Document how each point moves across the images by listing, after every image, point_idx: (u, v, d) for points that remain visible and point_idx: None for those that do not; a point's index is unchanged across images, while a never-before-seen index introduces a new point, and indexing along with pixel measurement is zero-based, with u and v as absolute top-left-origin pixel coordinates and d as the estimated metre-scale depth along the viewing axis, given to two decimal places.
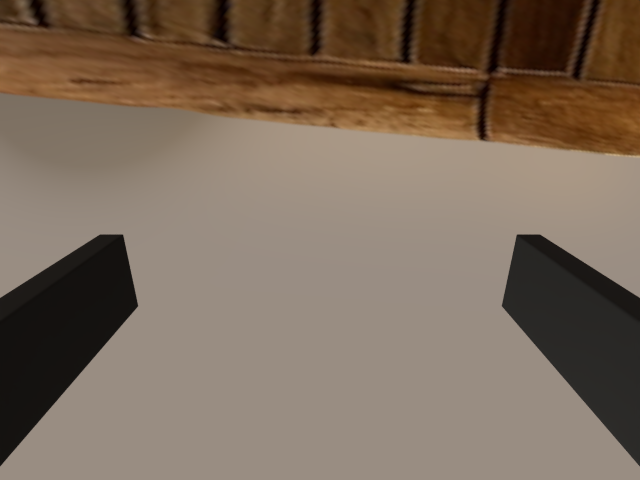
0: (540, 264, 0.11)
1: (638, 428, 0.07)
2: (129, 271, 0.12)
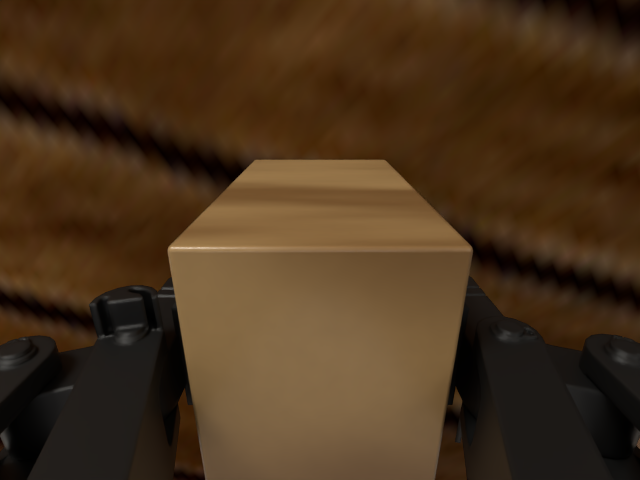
0: None
1: None
2: None
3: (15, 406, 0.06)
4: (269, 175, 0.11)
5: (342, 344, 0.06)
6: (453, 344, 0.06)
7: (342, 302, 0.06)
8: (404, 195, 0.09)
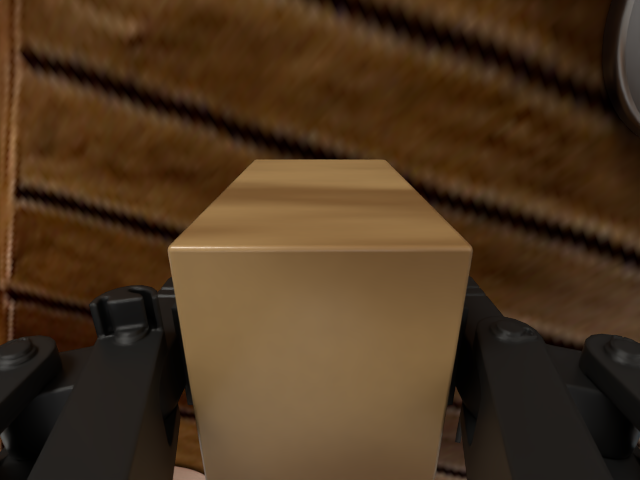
0: None
1: None
2: None
3: (15, 406, 0.06)
4: (269, 175, 0.11)
5: (342, 344, 0.06)
6: (453, 344, 0.06)
7: (342, 302, 0.06)
8: (404, 195, 0.09)
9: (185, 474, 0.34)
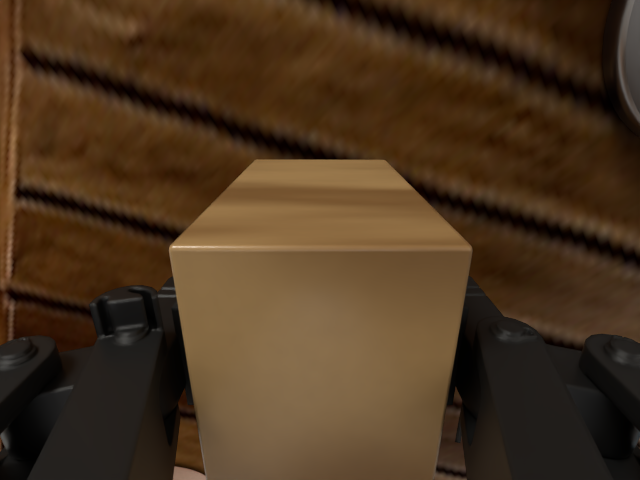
0: None
1: None
2: None
3: (15, 406, 0.06)
4: (269, 175, 0.11)
5: (342, 344, 0.06)
6: (453, 343, 0.06)
7: (342, 301, 0.06)
8: (404, 195, 0.09)
9: (185, 474, 0.34)
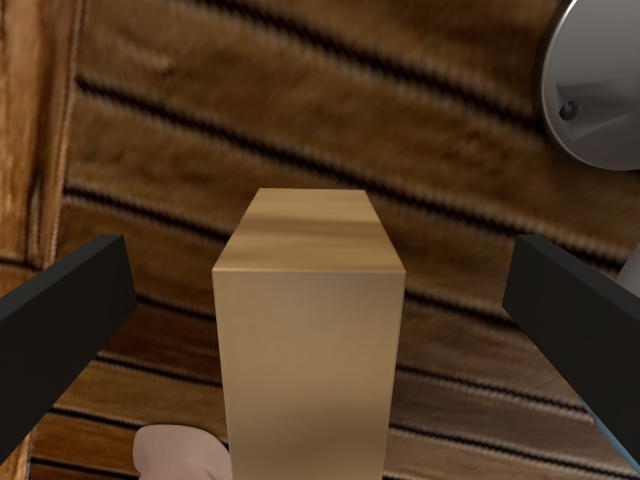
0: (540, 264, 0.11)
1: (638, 428, 0.07)
2: (129, 270, 0.12)
3: None
4: (272, 206, 0.14)
5: (323, 332, 0.10)
6: (396, 333, 0.10)
7: (323, 305, 0.09)
8: (371, 227, 0.12)
9: (194, 432, 0.40)
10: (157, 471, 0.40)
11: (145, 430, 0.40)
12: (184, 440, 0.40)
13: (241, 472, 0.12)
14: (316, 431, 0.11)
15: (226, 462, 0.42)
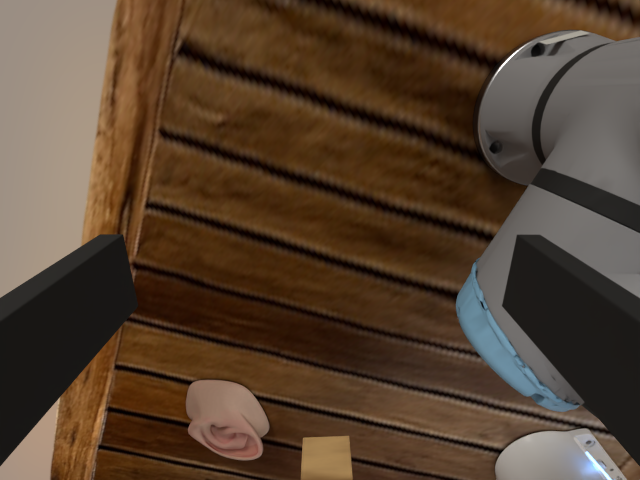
0: (540, 264, 0.11)
1: (638, 428, 0.07)
2: (129, 271, 0.12)
3: None
4: (311, 462, 0.36)
5: None
6: None
7: None
8: None
9: (233, 386, 0.53)
10: (205, 415, 0.52)
11: (196, 384, 0.53)
12: (226, 391, 0.53)
13: None
14: None
15: (257, 410, 0.54)
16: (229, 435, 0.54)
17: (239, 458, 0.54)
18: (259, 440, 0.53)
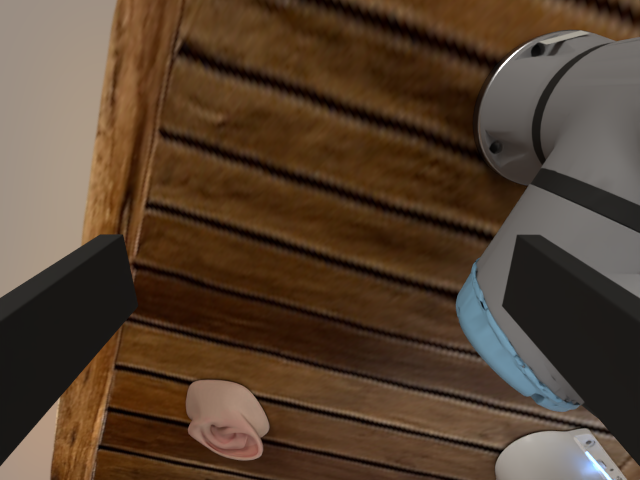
0: (540, 264, 0.11)
1: (638, 428, 0.07)
2: (129, 271, 0.12)
3: None
4: None
5: None
6: None
7: None
8: None
9: (233, 386, 0.53)
10: (205, 415, 0.52)
11: (196, 384, 0.53)
12: (226, 391, 0.53)
13: None
14: None
15: (257, 410, 0.54)
16: (229, 435, 0.54)
17: (239, 458, 0.54)
18: (259, 440, 0.53)
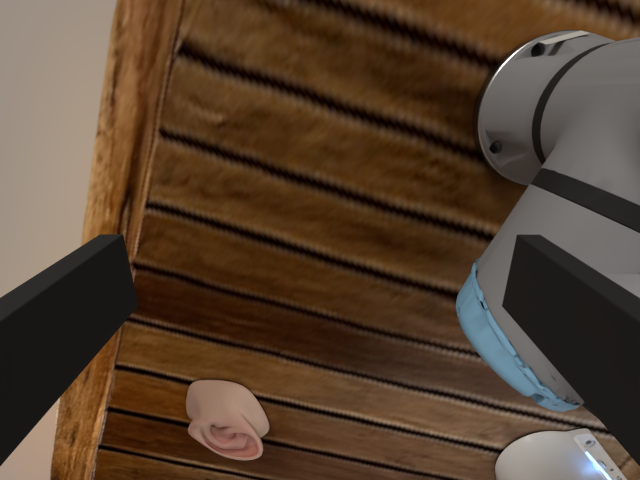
0: (540, 264, 0.11)
1: (638, 428, 0.07)
2: (129, 271, 0.12)
3: None
4: None
5: None
6: None
7: None
8: None
9: (233, 386, 0.53)
10: (205, 415, 0.52)
11: (196, 384, 0.53)
12: (226, 391, 0.53)
13: None
14: None
15: (257, 410, 0.54)
16: (229, 435, 0.54)
17: (239, 458, 0.54)
18: (259, 440, 0.53)
